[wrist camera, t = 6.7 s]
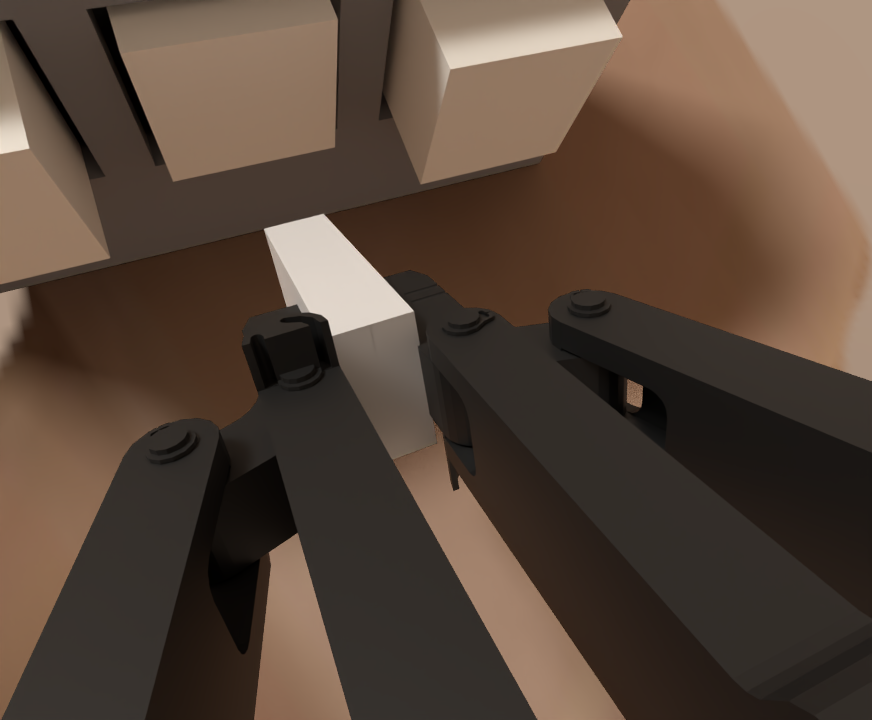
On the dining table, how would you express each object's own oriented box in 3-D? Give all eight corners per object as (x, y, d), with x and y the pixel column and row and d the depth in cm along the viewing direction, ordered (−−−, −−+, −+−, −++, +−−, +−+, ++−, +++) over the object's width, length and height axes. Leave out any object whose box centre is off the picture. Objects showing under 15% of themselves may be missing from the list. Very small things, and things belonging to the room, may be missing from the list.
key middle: (141, 77, 20) (81, -79, 15) (298, 50, 21) (290, -100, 16) (173, 181, 19) (120, 53, 14) (334, 147, 20) (337, 18, 15)
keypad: (-127, 131, 24) (-726, -423, 10) (477, 28, 30) (599, -391, 17) (-93, 315, 22) (-763, -60, 8) (539, 162, 29) (731, -183, 15)
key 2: (380, 87, 21) (397, -51, 16) (513, 61, 23) (565, -73, 18) (420, 184, 20) (450, 69, 16) (555, 152, 22) (622, 37, 17)
